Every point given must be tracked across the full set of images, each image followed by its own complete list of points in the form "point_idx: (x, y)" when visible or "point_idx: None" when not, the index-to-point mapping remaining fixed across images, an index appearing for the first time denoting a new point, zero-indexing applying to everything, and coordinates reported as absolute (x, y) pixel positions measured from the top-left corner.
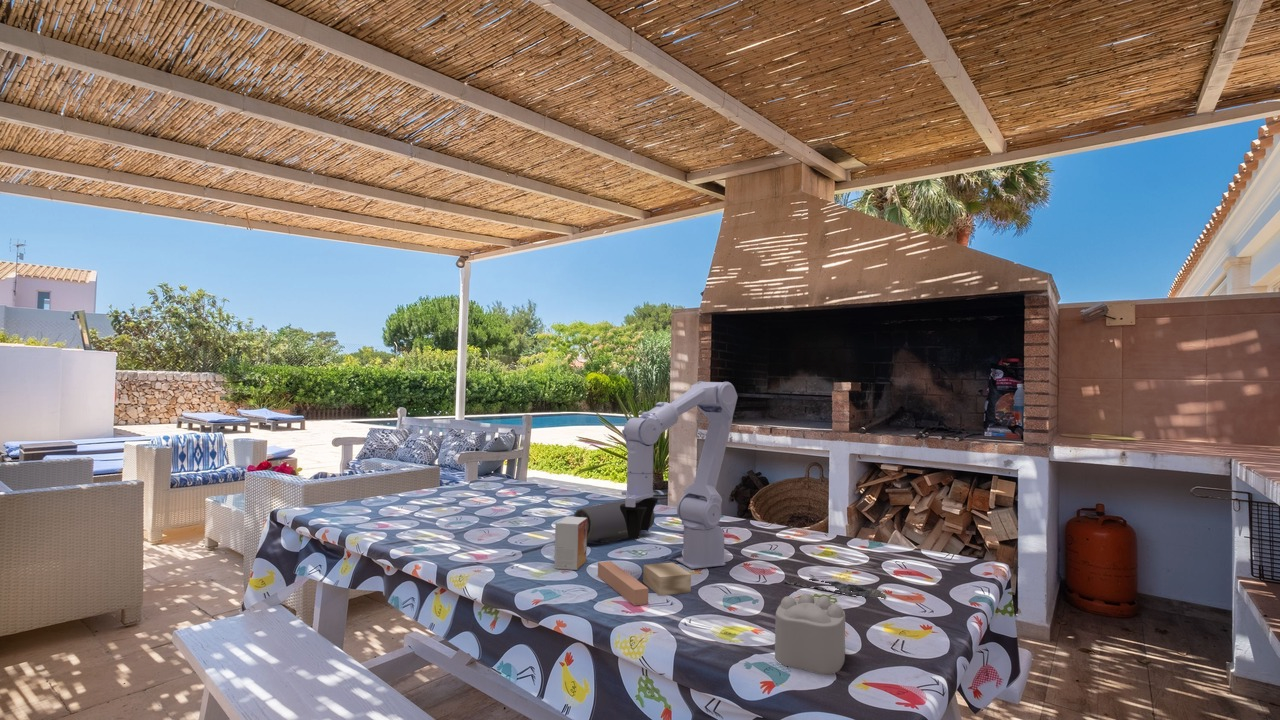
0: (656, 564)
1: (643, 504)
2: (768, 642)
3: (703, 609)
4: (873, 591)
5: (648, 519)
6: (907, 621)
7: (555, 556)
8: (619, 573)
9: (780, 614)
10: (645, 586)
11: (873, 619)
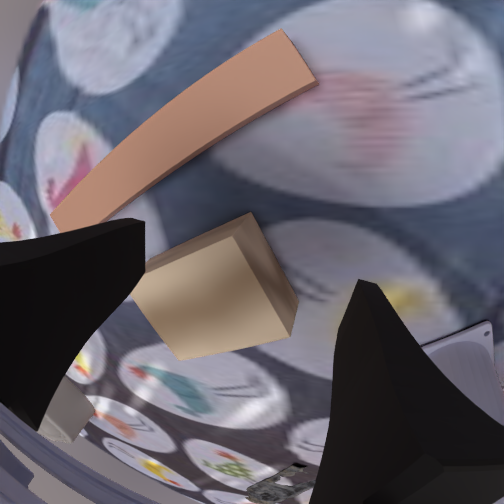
0: (249, 283)
1: (343, 480)
2: None
3: (113, 331)
4: (264, 501)
5: (335, 391)
6: (183, 481)
7: None
8: (148, 147)
9: None
10: None
11: (175, 469)
